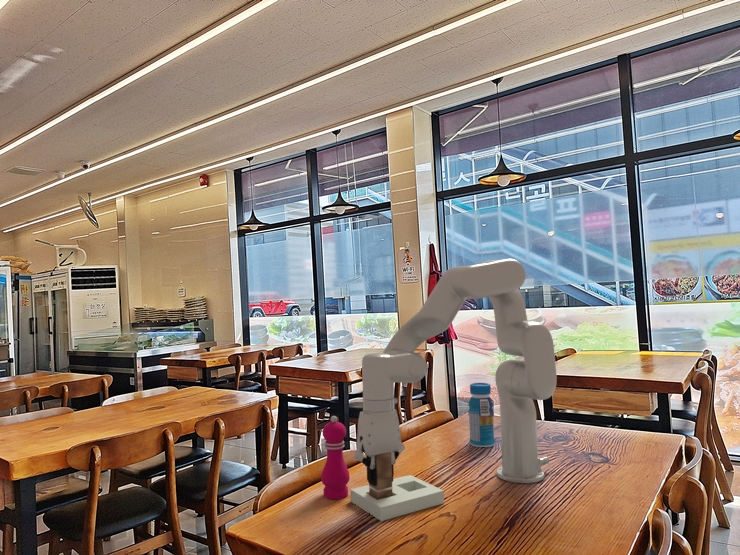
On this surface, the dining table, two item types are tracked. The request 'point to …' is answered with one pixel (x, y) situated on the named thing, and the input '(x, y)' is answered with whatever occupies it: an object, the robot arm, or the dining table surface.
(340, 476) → the pepper mill
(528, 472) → the robot arm
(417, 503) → the board
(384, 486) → the peg
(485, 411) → the beverage bottle
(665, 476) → the dining table surface
